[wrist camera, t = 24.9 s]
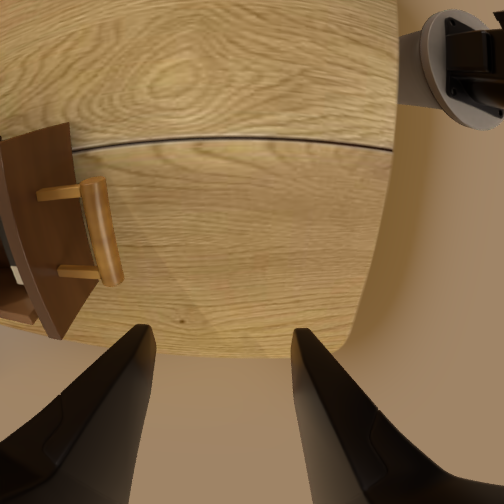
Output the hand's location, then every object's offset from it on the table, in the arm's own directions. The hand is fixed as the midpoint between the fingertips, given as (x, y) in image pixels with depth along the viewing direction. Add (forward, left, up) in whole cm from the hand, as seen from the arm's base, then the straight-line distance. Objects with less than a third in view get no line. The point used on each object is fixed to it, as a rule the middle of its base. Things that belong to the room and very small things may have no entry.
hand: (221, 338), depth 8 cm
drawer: (+15, 0, -11) cm, 19 cm away
